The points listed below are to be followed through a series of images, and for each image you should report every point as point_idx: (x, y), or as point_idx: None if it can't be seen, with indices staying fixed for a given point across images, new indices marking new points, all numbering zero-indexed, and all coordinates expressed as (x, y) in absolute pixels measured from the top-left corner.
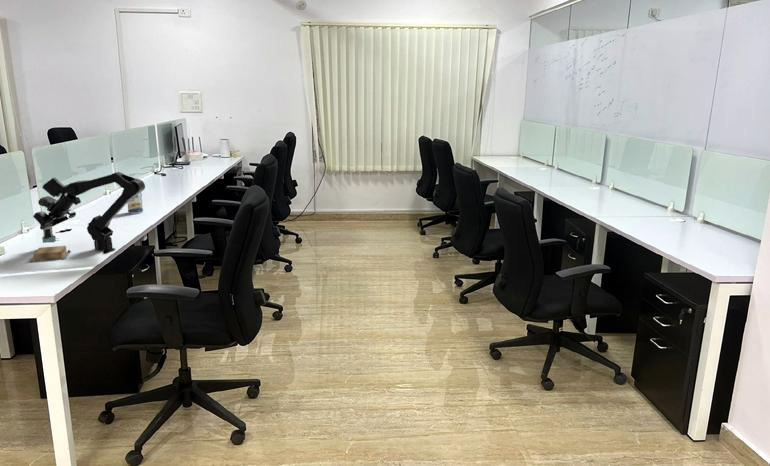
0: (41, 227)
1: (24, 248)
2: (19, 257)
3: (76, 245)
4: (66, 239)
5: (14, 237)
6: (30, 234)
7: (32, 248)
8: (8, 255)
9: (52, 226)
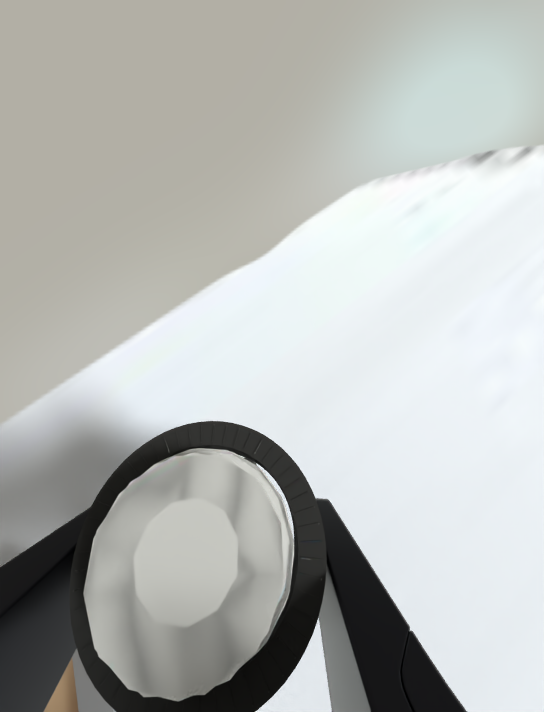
0: None
1: (262, 328)
2: (78, 435)
3: None
4: (511, 417)
5: (415, 175)
6: (484, 191)
7: (268, 366)
8: (128, 348)
9: None
